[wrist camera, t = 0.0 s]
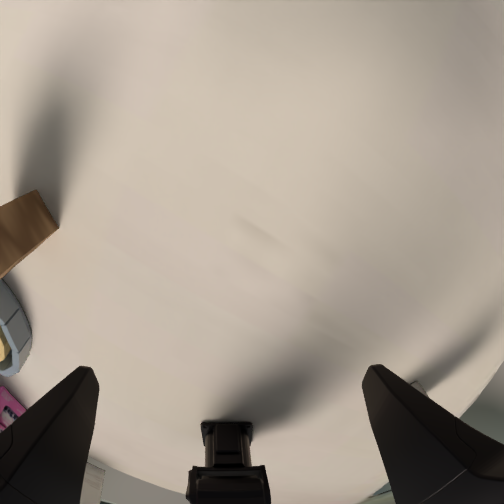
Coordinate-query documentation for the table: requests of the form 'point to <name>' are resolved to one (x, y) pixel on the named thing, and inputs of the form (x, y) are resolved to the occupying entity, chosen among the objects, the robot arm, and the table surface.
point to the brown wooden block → (23, 229)
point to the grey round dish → (12, 333)
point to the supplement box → (92, 485)
